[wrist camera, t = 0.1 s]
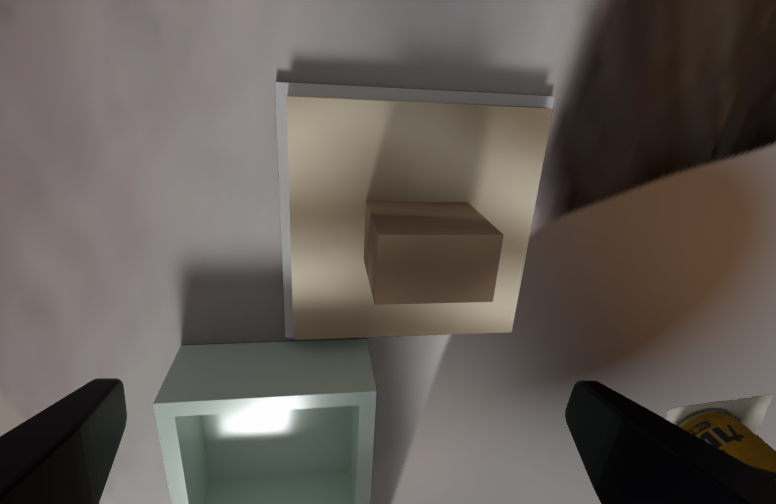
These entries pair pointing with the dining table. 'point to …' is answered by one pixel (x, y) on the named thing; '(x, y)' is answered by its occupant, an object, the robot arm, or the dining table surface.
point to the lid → (409, 214)
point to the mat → (366, 93)
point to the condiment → (731, 429)
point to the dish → (269, 423)
